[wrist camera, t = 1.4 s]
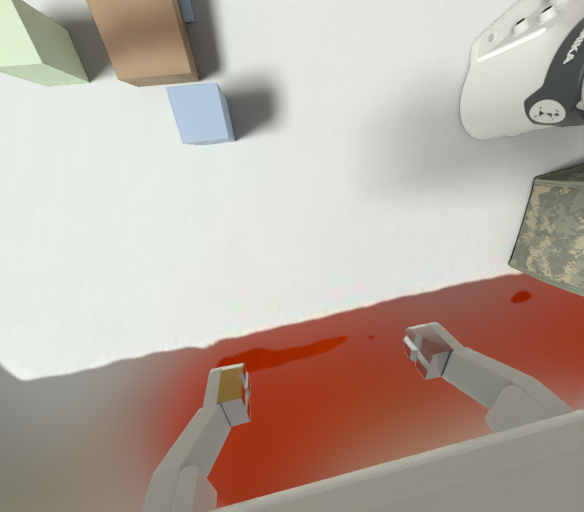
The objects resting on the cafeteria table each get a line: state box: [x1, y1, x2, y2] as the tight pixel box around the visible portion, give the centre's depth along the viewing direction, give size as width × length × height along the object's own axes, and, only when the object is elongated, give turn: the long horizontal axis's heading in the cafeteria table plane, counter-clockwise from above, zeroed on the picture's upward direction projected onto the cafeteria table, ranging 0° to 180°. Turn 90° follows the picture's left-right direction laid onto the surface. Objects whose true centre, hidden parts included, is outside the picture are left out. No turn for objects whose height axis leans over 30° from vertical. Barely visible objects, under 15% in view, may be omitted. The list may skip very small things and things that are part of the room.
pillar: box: [166, 83, 235, 145], centre depth 27 cm, size 5×5×10 cm
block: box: [0, 0, 90, 86], centre depth 23 cm, size 5×5×7 cm
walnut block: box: [86, 0, 199, 87], centre depth 25 cm, size 8×8×5 cm
